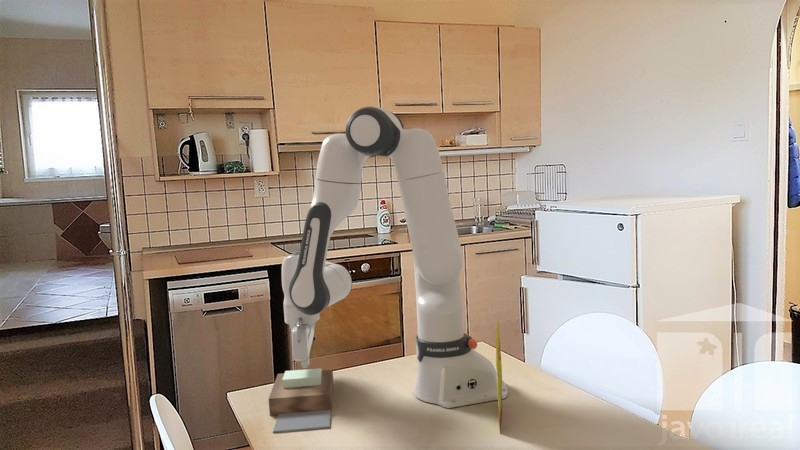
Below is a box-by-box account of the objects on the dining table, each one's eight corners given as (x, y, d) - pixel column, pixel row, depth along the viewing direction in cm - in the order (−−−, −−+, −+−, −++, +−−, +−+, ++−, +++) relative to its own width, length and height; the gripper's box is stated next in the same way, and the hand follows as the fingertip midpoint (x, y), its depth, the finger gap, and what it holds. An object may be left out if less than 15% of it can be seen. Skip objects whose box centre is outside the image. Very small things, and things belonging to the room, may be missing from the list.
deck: (333, 384, 147) (332, 369, 147) (331, 410, 132) (330, 393, 131) (278, 388, 146) (277, 373, 146) (269, 415, 130) (268, 398, 130)
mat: (331, 411, 131) (331, 409, 131) (329, 428, 123) (329, 426, 123) (278, 415, 130) (278, 414, 130) (273, 432, 122) (273, 431, 122)
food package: (502, 434, 116) (499, 338, 114) (496, 434, 116) (493, 338, 114) (504, 403, 131) (501, 317, 129) (499, 402, 131) (496, 317, 129)
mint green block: (322, 375, 143) (321, 368, 143) (320, 384, 137) (320, 376, 137) (285, 378, 142) (285, 371, 142) (282, 387, 136) (282, 379, 136)
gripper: (311, 323, 136) (315, 379, 137) (316, 303, 156) (320, 352, 158) (284, 325, 136) (288, 381, 137) (293, 305, 156) (297, 354, 157)
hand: (305, 366), depth 147 cm, fingers closed
